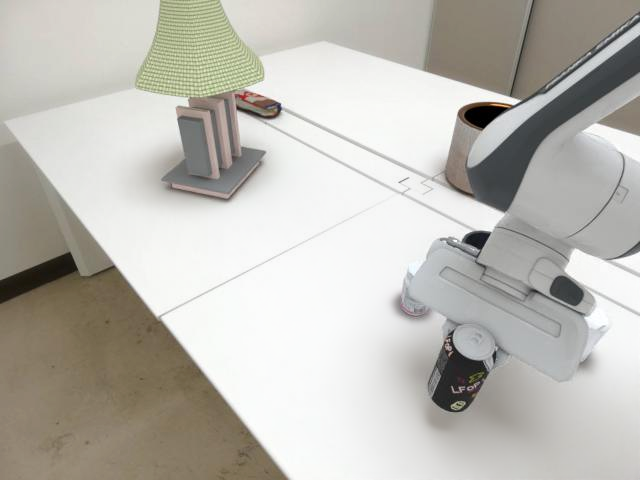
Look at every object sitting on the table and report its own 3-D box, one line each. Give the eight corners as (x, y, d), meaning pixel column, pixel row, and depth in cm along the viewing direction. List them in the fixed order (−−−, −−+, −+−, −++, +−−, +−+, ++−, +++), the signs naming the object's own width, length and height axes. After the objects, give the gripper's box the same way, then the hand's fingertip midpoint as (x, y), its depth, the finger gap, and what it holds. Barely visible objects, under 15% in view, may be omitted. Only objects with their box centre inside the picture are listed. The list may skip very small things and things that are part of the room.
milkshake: (561, 367, 67) (586, 322, 61) (555, 339, 71) (578, 294, 65) (594, 373, 66) (623, 328, 60) (586, 344, 70) (613, 299, 64)
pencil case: (251, 96, 147) (250, 80, 144) (287, 115, 136) (286, 99, 133) (221, 104, 142) (219, 88, 139) (256, 125, 130) (254, 109, 127)
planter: (428, 171, 111) (439, 109, 101) (484, 155, 117) (499, 95, 107) (480, 208, 99) (498, 142, 89) (538, 188, 105) (561, 124, 95)
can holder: (512, 262, 85) (519, 241, 82) (497, 290, 79) (504, 269, 76) (466, 245, 89) (472, 224, 86) (449, 270, 83) (454, 249, 80)
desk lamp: (247, 216, 96) (222, 7, 71) (134, 192, 103) (75, -6, 78) (292, 159, 115) (285, -21, 90) (194, 142, 122) (162, -30, 97)
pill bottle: (406, 291, 79) (412, 255, 74) (432, 302, 77) (441, 265, 72) (395, 309, 76) (401, 272, 71) (422, 320, 74) (430, 283, 69)
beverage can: (480, 395, 58) (511, 341, 50) (454, 425, 55) (483, 374, 47) (443, 366, 61) (466, 310, 53) (416, 393, 58) (437, 339, 50)
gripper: (432, 224, 56) (378, 322, 56) (612, 307, 45) (543, 428, 46) (445, 236, 61) (396, 326, 62) (608, 313, 50) (547, 421, 51)
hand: (460, 370), depth 54 cm, fingers closed on beverage can, 3 cm apart
